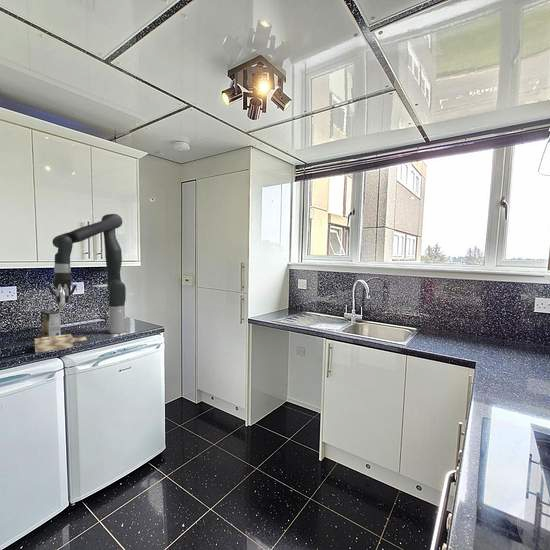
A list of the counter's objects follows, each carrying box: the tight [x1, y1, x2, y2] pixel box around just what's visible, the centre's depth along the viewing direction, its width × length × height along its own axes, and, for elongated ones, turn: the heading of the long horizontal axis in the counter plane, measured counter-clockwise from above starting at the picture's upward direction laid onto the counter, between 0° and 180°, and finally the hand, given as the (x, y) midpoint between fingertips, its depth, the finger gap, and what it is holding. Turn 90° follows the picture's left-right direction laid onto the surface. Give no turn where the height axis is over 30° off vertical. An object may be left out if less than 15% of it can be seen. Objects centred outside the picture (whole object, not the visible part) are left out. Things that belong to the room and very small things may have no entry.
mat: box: [73, 336, 88, 343], centre depth 176 cm, size 8×7×1 cm
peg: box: [58, 287, 67, 310], centre depth 167 cm, size 3×3×12 cm
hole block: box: [34, 333, 74, 354], centre depth 161 cm, size 16×10×5 cm, turn 130°
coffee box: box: [40, 309, 62, 338], centre depth 177 cm, size 9×6×16 cm
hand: (62, 302), depth 167 cm, fingers closed on peg, 3 cm apart
